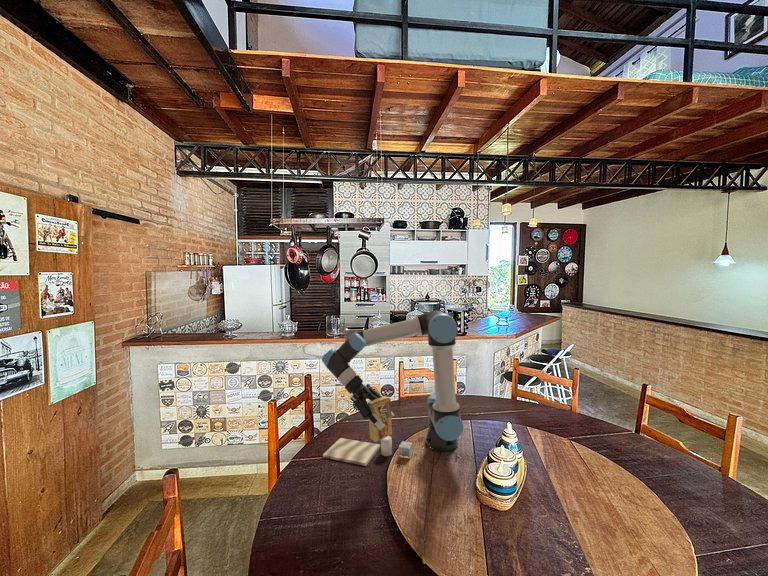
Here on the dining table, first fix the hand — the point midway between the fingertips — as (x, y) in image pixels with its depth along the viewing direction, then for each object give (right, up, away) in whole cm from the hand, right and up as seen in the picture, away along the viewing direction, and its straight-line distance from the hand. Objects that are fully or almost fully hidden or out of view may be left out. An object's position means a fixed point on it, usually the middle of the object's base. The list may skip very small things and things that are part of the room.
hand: (387, 422), depth 131 cm
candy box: (-3, -7, +1) cm, 7 cm away
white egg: (0, -22, +19) cm, 29 cm away
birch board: (-16, -23, +21) cm, 35 cm away
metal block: (+9, -22, +16) cm, 29 cm away
